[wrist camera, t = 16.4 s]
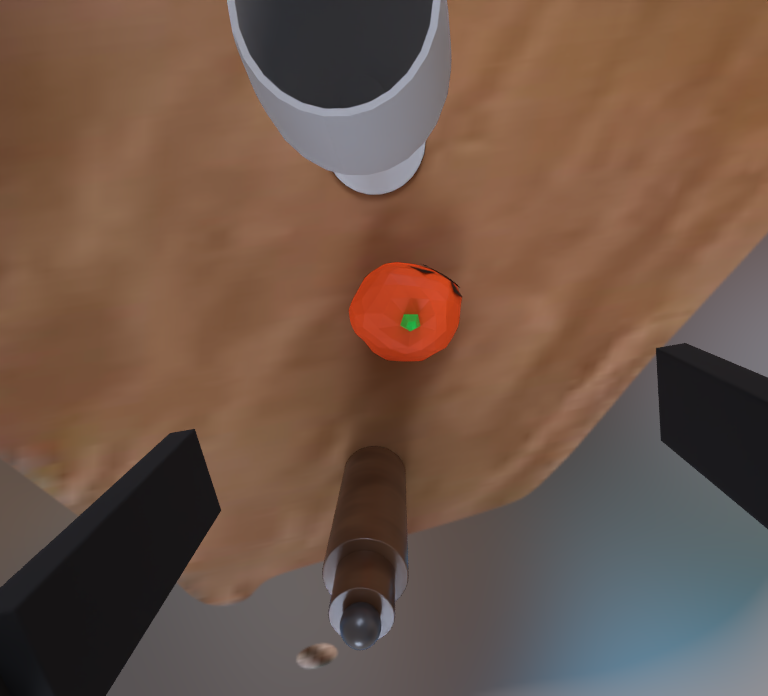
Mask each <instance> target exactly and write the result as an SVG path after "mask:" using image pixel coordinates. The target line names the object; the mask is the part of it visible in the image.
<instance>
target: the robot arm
mask: <svg viewBox="0 0 768 696" xmlns="http://www.w3.org/2000/svg"><path fill="white" fill-rule="evenodd" d="M656 357H657V375H658V394H659V412H660V430H661V441H663V442H664V443H665V444H666V445H667V446H668V447H670V448H671V449H672V450H673V451H674V452H676V453H677V454H678V455H679V456H680V457H682V458H683V459H684V460H685V461H686V462H688V463H689V464H690V465H691V466H692V467H694V468H695V469H696V470H697V471H698V472H700V473H701V474H702V475H704V476H705V477H706V478H707V479H708V480H709V481H711V482H712V483H713V484H714V485H715V486H717V487H718V488H719V489H720V490H721V491H723V492H724V493H725V494H726V495H727V496H729V497H730V498H731V499H732V500H733V501H735V502H736V503H737V504H738V505H740V506H741V507H742V508H743V509H744V510H745V511H747V512H748V513H749V514H750V515H751V516H753V517H754V518H755V519H756V520H758V521H759V522H760V523H761V524H762V525H764V526H765V527H766V528H767V529H768V378H767V377H765V376H763V375H760V374H758V373H755V372H753V371H751V370H748V369H746V368H744V367H741V366H739V365H736V364H734V363H732V362H729V361H727V360H725V359H722V358H720V357H717V356H715V355H713V354H710V353H708V352H705V351H703V350H701V349H698V348H696V347H693V346H691V345H689V344H686V343H684V344H678V345H672V346H666V347H660V348H656ZM220 511H221V508H220V505H219V502H218V499H217V496H216V493H215V490H214V487H213V484H212V481H211V478H210V475H209V471H208V468H207V465H206V462H205V459H204V456H203V453H202V450H201V447H200V444H199V441H198V438H197V434H196V431H195V429H192V430H186V431H180V432H174V433H170V434H169V435H168V436H166V437H165V438H164V439H163V440H162V441H161V442H160V443H159V444H158V445H157V446H155V447H154V448H153V449H152V450H151V451H150V452H149V453H148V454H147V455H146V456H145V457H143V458H142V459H141V460H140V461H139V462H138V463H137V464H136V465H135V466H134V467H132V468H131V469H130V470H129V471H128V472H127V473H126V474H125V475H124V476H123V477H121V478H120V479H119V480H118V481H117V482H116V483H115V484H114V485H113V486H112V487H111V488H109V489H108V490H107V491H106V492H105V493H104V494H103V495H102V496H101V497H100V498H98V499H97V500H96V501H95V502H94V503H93V504H92V505H91V506H90V507H89V508H88V509H86V510H85V511H84V512H83V513H82V514H81V515H80V516H79V517H78V518H77V519H75V520H74V521H73V522H72V523H71V524H70V525H69V526H68V527H67V528H66V529H65V530H63V531H62V532H61V533H60V534H59V535H58V536H57V537H56V538H55V539H54V540H52V541H51V542H50V543H49V544H48V545H47V546H46V547H45V548H44V549H42V550H41V551H40V552H39V553H38V554H37V555H35V556H34V557H33V558H32V559H31V560H30V561H29V562H28V563H27V564H26V565H25V566H23V568H22V569H21V570H20V571H18V572H17V573H16V574H15V575H13V576H12V577H11V578H10V579H9V580H8V581H7V582H6V583H5V584H4V585H3V586H2V587H0V696H106V694H107V693H108V691H109V690H110V688H111V686H112V685H113V683H114V682H115V680H116V678H117V677H118V675H119V673H120V672H121V670H122V669H123V667H124V665H125V664H126V662H127V661H128V659H129V657H130V656H131V654H132V653H133V651H134V649H135V648H136V646H137V645H138V643H139V641H140V640H141V638H142V637H143V635H144V633H145V632H146V630H147V629H148V627H149V625H150V624H151V622H152V620H153V619H154V617H155V616H156V614H157V613H158V611H159V609H160V608H161V606H162V604H163V603H164V601H165V600H166V598H167V596H168V595H169V593H170V592H171V590H172V588H173V587H174V585H175V584H176V582H177V580H178V579H179V577H180V576H181V574H182V572H183V571H184V569H185V568H186V566H187V564H188V563H189V561H190V560H191V558H192V556H193V555H194V553H195V552H196V550H197V548H198V547H199V545H200V544H201V542H202V540H203V539H204V537H205V536H206V534H207V532H208V531H209V529H210V527H211V526H212V524H213V523H214V521H215V519H216V518H217V516H218V515H219V513H220Z"/></svg>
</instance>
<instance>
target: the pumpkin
mask: <svg viewBox="0 0 768 696" xmlns="http://www.w3.org/2000/svg"><path fill="white" fill-rule="evenodd" d="M422 265H423V264H422ZM424 266H426V265H424ZM427 267H428V266H427ZM427 267H423V266H420V265H415V264H408V263H401V262H395V263H387V264H384V265H382V266H380V267H379V268H377V269H375V270H374V271H372V272H371V273H369V274H368V275H367V276H366V277H365V278H364V280H363V282H362V284H361V285H360V287H359V289H358V291H357V293H356V294H355V296H354V298H353V300H352V302H351V305H350V308H349V316H350V321H351V325H352V327H353V329H354V332H355V334H357V335H358V336H359V337H360V338H361V339H362V340H364V341H365V343H366V344H367V345H368V347H369V348H370V349H371V350H372V352H374V353H375V354H377V355H379V356H381V357H382V358H384V359H386V360H390V361H404V362H406V361H423V360H425V359H426V358H428V357H430V356H431V355H433V354H435V353H437V352H438V351H440V350H442V349H444V348H446V347H447V345H448V344H449V342H450V341H451V339H452V338H453V336H454V334H455V332H456V330H457V328H458V325H459V318H460V309H461V300H462V296H461V294H460V293H459V290H458V288H457V286H458V285H457V284H456V283H455V282H453V281H452V280H451V279H449V278H447V277H446V276H445V275H443V274H441V273H439V272H437V271H435V270H433V269H430V267H429V268H427ZM458 287H459V286H458Z"/></svg>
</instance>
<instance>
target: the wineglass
mask: <svg viewBox="0 0 768 696" xmlns="http://www.w3.org/2000/svg"><path fill="white" fill-rule="evenodd" d="M227 4H228V10H229V15H230V21H231V26H232V32H233V36H234V40H235V43H236V46H237V49H238V51H239V54H240V57H241V59H242V62H243V64H244V67H245V69H246V72H247V74H248V76H249V79H250V81H251V84H252V86H253V88H254V91H255V93H256V95H257V97H258V99H259V101H260V103H261V104H262V106H263V108H264V109H265V111H266V113H267V114H268V116H269V117H270V119H271V120H272V122H273V123H274V124H275V126H276V127H277V129H278V130H279V132H280V133H281V135H282V136H283V138H284V139H285V140H286V141H287V142H288V143H289V144H290V145H291V146H292V147H293V148H294V149H296V150H297V151H298V152H299V153H300V154H301V155H302V156H303V157H305V158H306V159H308V160H309V161H311V162H313V163H315V164H317V165H319V166H320V167H322V168H324V169H326V170H329V171H333V172H334V173H335V175H336V176H337V177H338V178H339V179H340V180H341V181H342V182H343V183H344V184H345V185H346V186H348V187H350V188H352V189H353V190H355V191H357V192H361V193H365V194H369V195H374V194H384V193H388V192H392V191H394V190H396V189H398V188H399V187H401V186H403V185H404V184H405V183H406V182H407V181H408V180H409V179H411V178H412V176H413V175H414V173H415V172H416V170H417V169H418V167H419V166H420V163H421V160H422V157H423V155H424V149H425V141H426V139H427V138H428V136H429V135H430V133H431V132H432V130H433V129H434V127H435V126H436V124H437V121H438V119H439V116H440V113H441V111H442V108H443V105H444V103H445V100H446V97H447V94H448V87H449V80H450V72H451V41H450V28H449V16H448V6H447V0H227Z"/></svg>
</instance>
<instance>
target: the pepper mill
mask: <svg viewBox="0 0 768 696" xmlns="http://www.w3.org/2000/svg"><path fill="white" fill-rule="evenodd" d="M322 575H323V581H324V584H325V586H326V589H327V591H328V592H329V593H330V595H331V600H330V605H329V611H328V616H329V621H330V624H331V625H332V627H333V629H334V630H335V631H336V632H337V633H338V634H339V635H340V636H342V638H343V640H344V642H345V643H346V644H347V645H348V646H349V647H351V648H352V649H355V650H365V649H368V648H370V647H371V646H372V645H374V644H375V642H376V641H377V640H378V639H380V638H382V637H384V636H385V635H386V634H387V633H388V632H389V631H390V629H391V628H392V626H393V624H394V620H395V601H396V600H398V599H399V598H400V596H401V595H402V594H403V592H404V591H405V589H406V586H407V583H408V545H407V511H406V478H405V468H404V465H403V463H402V461H401V460H400V458H399V457H398V456H397V455H396V454H395V453H393V452H392V451H390V450H388V449H386V448H383V447H377V446H371V447H366V448H363V449H360V450H358V451H356V452H355V453H354V454H353V455H352V456H351V457H350V458H349V459H348V461H347V463H346V465H345V469H344V474H343V478H342V483H341V487H340V492H339V497H338V501H337V506H336V510H335V515H334V519H333V524H332V528H331V533H330V537H329V542H328V546H327V551H326V555H325V560H324V565H323V571H322Z"/></svg>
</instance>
